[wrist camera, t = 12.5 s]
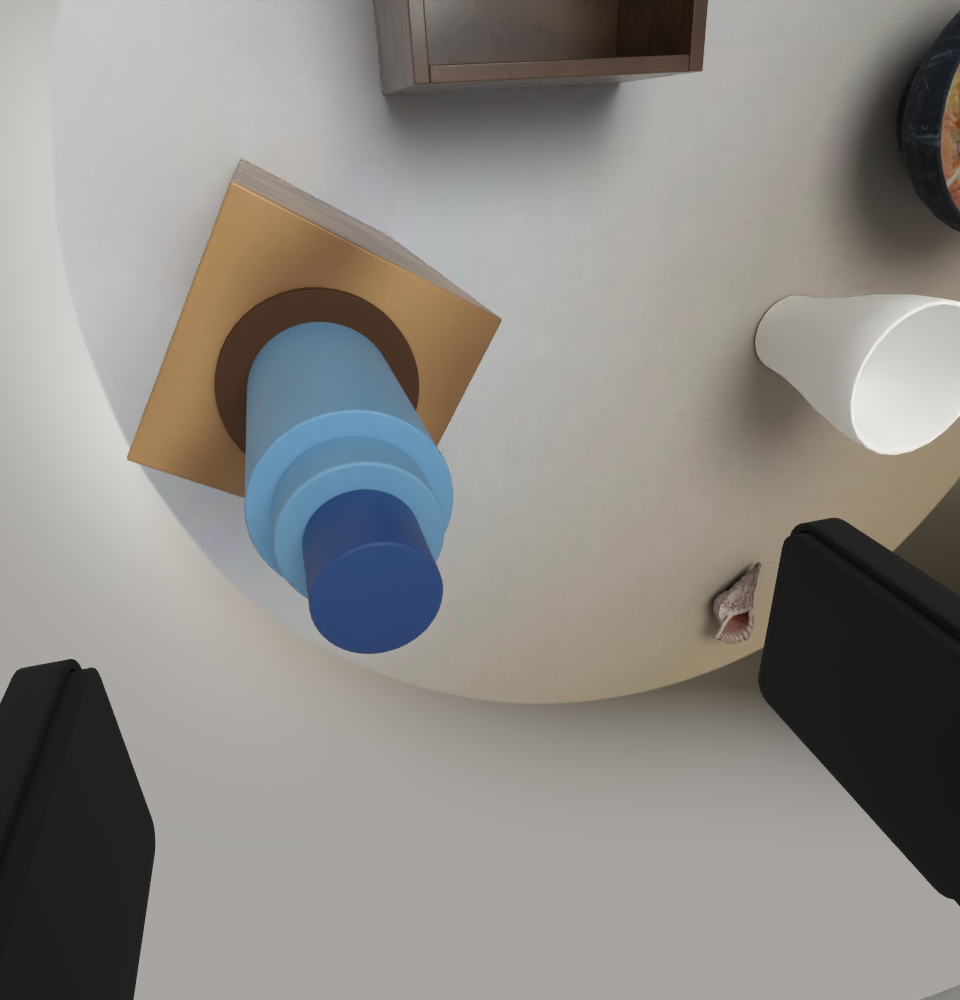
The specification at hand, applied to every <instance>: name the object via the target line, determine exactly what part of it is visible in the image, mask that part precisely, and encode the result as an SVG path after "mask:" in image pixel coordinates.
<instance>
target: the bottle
mask: <svg viewBox="0 0 960 1000" xmlns="http://www.w3.org/2000/svg"><path fill="white" fill-rule="evenodd" d="M452 506H453V487H452V480H451V476H450V473H449V469H448V467H447V464H446V462H445V460H444V458H443V456H442V454H441V453H440V451H439V449H438V448H437V446H436V444H435V443H434V441H433V439H432V438H431V436H430V434H429V432H428V431H427V429H426V427H425V426H424V424H423V422H422V421H421V419H420V417H419V416H418V414H417V412H416V411H415V409H414V407H413V406H412V404H411V402H410V400H409V399H408V397H407V395H406V394H405V392H404V390H403V389H402V387H401V385H400V384H399V382H398V380H397V379H396V377H395V375H394V374H393V372H392V370H391V368H390V367H389V365H388V363H387V362H386V360H385V358H384V357H383V355H382V354H381V352H380V351H379V350H378V348H377V347H376V346H375V345H374V344H373V343H372V342H371V341H370V340H369V339H367V338H366V337H365V336H363V335H362V334H361V333H359V332H357V331H355V330H353V329H351V328H348V327H346V326H343V325H339V324H335V323H329V322H310V323H304V324H300V325H296V326H293V327H291V328H289V329H286V330H284V331H282V332H281V333H279V334H278V335H276V336H275V337H273V338H272V339H271V340H270V341H269V342H268V343H267V344H266V345H265V346H264V347H263V348H262V349H261V350H260V352H259V353H258V355H257V356H256V358H255V360H254V362H253V364H252V366H251V369H250V372H249V376H248V382H247V411H246V459H245V506H244V511H245V520H246V525H247V529H248V532H249V535H250V538H251V540H252V542H253V544H254V546H255V548H256V549H257V551H258V553H259V554H260V556H261V557H262V558H263V559H264V560H265V562H266V563H267V564H268V565H269V566H270V567H271V568H272V569H274V570H275V571H276V572H277V573H278V574H279V575H281V576H283V577H284V578H285V579H286V580H287V581H288V582H289V584H290V585H291V586H292V587H293V588H294V589H295V590H297V591H298V592H299V593H300V594H302V595H303V596H305V597H306V598H308V600H309V609H310V614H311V618H312V620H313V622H314V625H315V626H316V628H317V629H318V631H319V632H320V633H321V634H322V635H323V636H324V637H325V638H326V639H327V640H328V641H329V642H331V643H332V644H334V645H336V646H337V647H340V648H342V649H344V650H347V651H351V652H356V653H364V654H374V653H382V652H387V651H391V650H394V649H397V648H399V647H402V646H404V645H406V644H408V643H409V642H411V641H413V640H414V639H416V638H417V637H418V636H419V635H421V634H422V633H423V632H424V631H425V630H426V629H427V628H428V627H429V625H430V624H431V623H432V621H433V620H434V618H435V617H436V615H437V612H438V610H439V607H440V604H441V601H442V595H443V585H442V579H441V575H440V572H439V570H438V568H437V565H436V561H437V558H438V556H439V554H440V551H441V548H442V544H443V538H444V533H445V531H446V529H447V526H448V523H449V520H450V517H451V512H452Z"/></svg>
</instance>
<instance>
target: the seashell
mask: <svg viewBox="0 0 960 1000" xmlns="http://www.w3.org/2000/svg"><path fill="white" fill-rule="evenodd" d="M760 567H761V564H760V563H759V562H758V563H757V564H755V566H754V568H753V569H752V570H751V571H750V572H749V573H748V574H747V575H745V576H743V577H742V578H741V579H740V580H739V581H738V582H736V583H735V584H734V585H733V586H732V588H731V589H730V590H727V591H724V592H723V593H721V594H719V595H718V596H717V597H716V598H715V601H714V603H713V612H714V615H715V617H716V619H717V621H718V623H719V625H720V628H719V630H718V632H717V633H716V634H715V636H714V638H716V639H718V640H721V641H722V642H725V643H726V644H727V643H729V644H731V645H732V643H735V644H737V642H741V641H742V640H743V639H744V640H747V639H749V637H750V636H751V633H752V630H753V629H754V618H753V617H754V616H752V608H753V599H754V596H753V593H754V590H755V588H756V585H757V578H758V574H759V570H760Z"/></svg>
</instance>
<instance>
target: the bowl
mask: <svg viewBox="0 0 960 1000" xmlns="http://www.w3.org/2000/svg"><path fill="white" fill-rule="evenodd" d="M897 137H898V142H899V146H900V149H901V151H902V152H903V155H904V160H905V165H906V168H907V171H908V174H909V177H910V179H911V182H912V184H913V187H914V190H915V192H916V194H917V195H918V196H919V197H920V199H921V200H922V201H923V202H924V204H925V205H926V206H927V207H928V208H929V210H930V211H931V212H932V213H933V214H934V216H935V217H936V218H938V219H939V220H941V221H942V222H944V223H945V224H947V225H948V226H949V227H951V228H952V229H955V230H957V231H959V232H960V10H959V12H958V13H957V14H956V15H955V16H954V17H953V19H952V20H951V21H950V22H949V23H948V24H947V26H946V27H945V28H944V29H943V31H942V32H941V34H940V35H939V37H938V38H937V40H936V41H935V42H934V44H933V45H932V47H931V48H930V50H929V51H928V53H927V54H926V56H925V58H924V60H923V61H922V62H921V64H920V65H919V66H918V67H917V68H916V70H915V71H914V73H913V75H912V76H911V78H910V80H909V81H908V83H907V85H906V88H905V90H904V93H903V95H902V98H901V100H900V105H899V110H898V114H897Z"/></svg>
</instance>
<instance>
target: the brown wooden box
mask: <svg viewBox="0 0 960 1000" xmlns="http://www.w3.org/2000/svg"><path fill="white" fill-rule="evenodd" d="M373 2H374V12H375V22H376V32H377V42H378V52H379V61H380V71H381V81H382V91H383V94H384V95H385V94H405V93H425V92H445V91H465V90H485V89H505V88H525V87H545V86H565V85H585V84H605V83H622V82H629V81H636V80H643V79H650V78H657V77H664V76H671V75H678V74H685V73H692V72H699V71H702V67H703V55H704V42H705V30H706V17H707V4H708V0H373Z"/></svg>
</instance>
